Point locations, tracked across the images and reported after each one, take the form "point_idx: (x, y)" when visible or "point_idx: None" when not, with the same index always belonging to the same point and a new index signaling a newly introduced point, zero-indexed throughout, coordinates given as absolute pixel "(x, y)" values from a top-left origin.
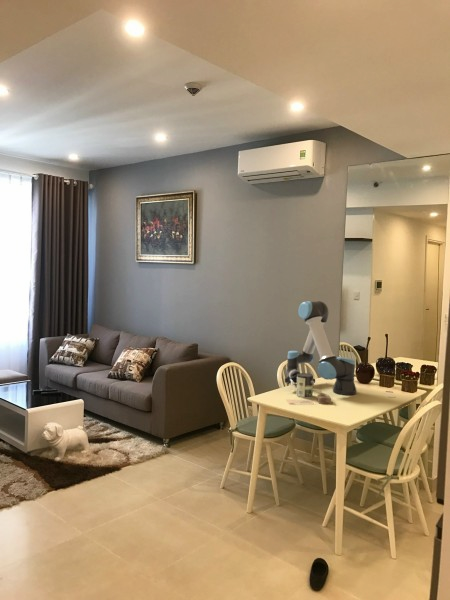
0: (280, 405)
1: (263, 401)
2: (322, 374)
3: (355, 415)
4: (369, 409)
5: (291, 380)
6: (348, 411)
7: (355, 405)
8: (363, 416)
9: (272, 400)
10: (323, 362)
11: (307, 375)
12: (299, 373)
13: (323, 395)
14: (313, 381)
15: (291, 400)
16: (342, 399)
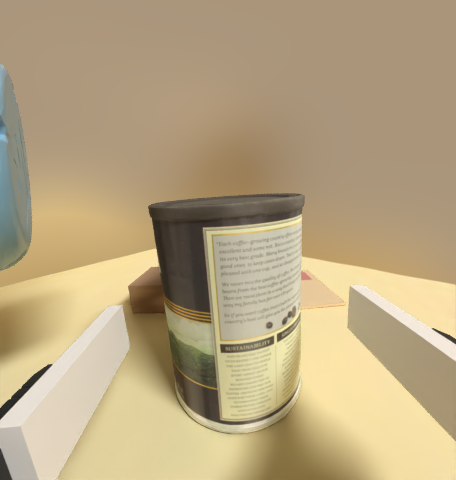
0: (337, 268)
1: (432, 284)
2: (24, 217)
3: (149, 255)
4: (68, 276)
5: (391, 306)
6: (145, 264)
7: (69, 292)
8: (136, 254)
9: (404, 296)
10: (8, 73)
11: (209, 201)
12: (279, 199)
13: (157, 283)
14: (113, 306)
15: (311, 297)
16: (22, 344)
